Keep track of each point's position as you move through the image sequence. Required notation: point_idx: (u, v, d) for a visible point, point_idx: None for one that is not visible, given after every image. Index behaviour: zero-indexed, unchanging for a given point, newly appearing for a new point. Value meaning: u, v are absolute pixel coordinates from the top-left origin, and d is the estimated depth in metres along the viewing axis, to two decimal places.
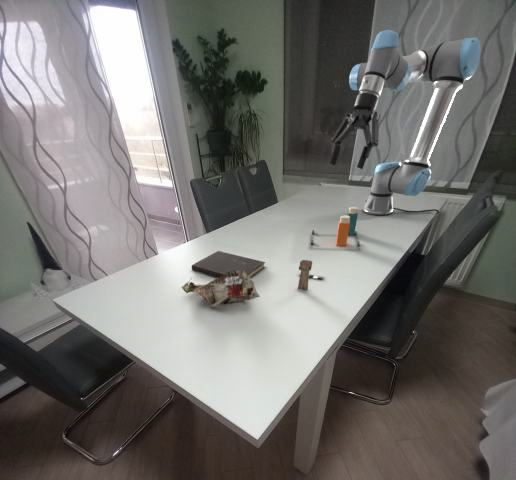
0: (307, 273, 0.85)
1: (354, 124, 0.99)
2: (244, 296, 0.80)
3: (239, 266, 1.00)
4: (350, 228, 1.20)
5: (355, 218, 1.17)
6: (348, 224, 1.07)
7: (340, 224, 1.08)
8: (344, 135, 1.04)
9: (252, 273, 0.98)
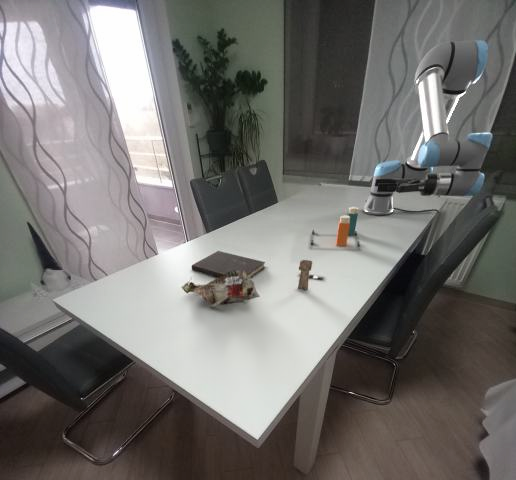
0: (307, 273, 0.85)
1: None
2: (244, 296, 0.80)
3: (239, 266, 1.00)
4: (350, 228, 1.20)
5: (355, 218, 1.17)
6: (348, 224, 1.07)
7: (340, 224, 1.08)
8: None
9: (252, 273, 0.98)
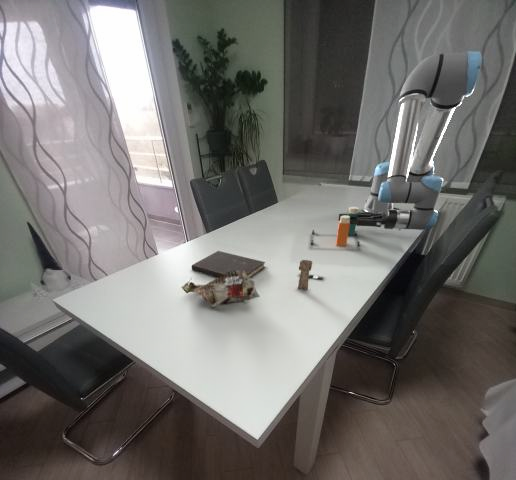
0: (307, 273, 0.85)
1: None
2: (244, 296, 0.80)
3: (239, 266, 1.00)
4: (350, 228, 1.20)
5: (355, 218, 1.17)
6: (348, 224, 1.07)
7: (340, 224, 1.08)
8: None
9: (252, 273, 0.98)
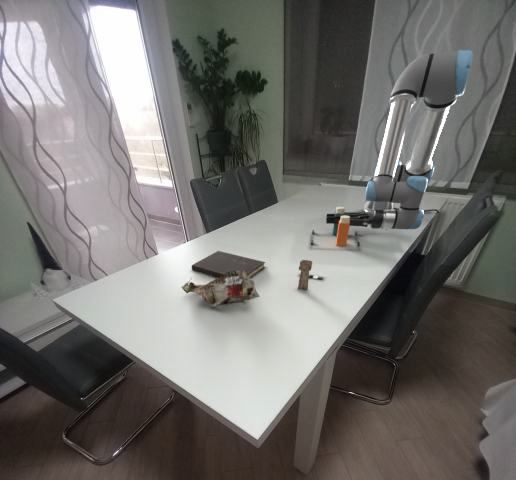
0: (307, 273, 0.85)
1: None
2: (244, 296, 0.80)
3: (239, 266, 1.00)
4: (337, 228, 1.21)
5: None
6: (348, 224, 1.07)
7: (340, 224, 1.08)
8: None
9: (252, 273, 0.98)
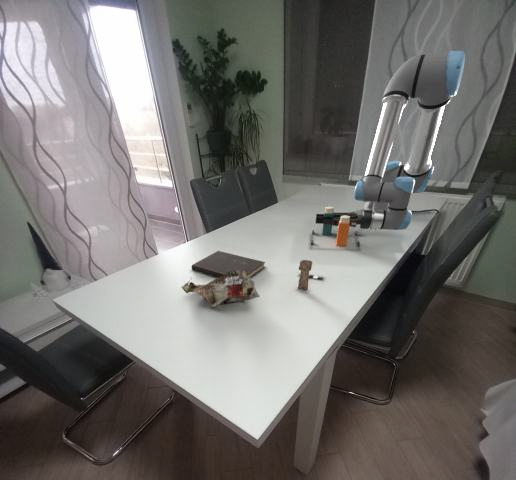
0: (307, 273, 0.85)
1: None
2: (244, 296, 0.80)
3: (239, 266, 1.00)
4: (327, 228, 1.22)
5: None
6: (348, 224, 1.07)
7: (340, 224, 1.08)
8: None
9: (252, 273, 0.98)
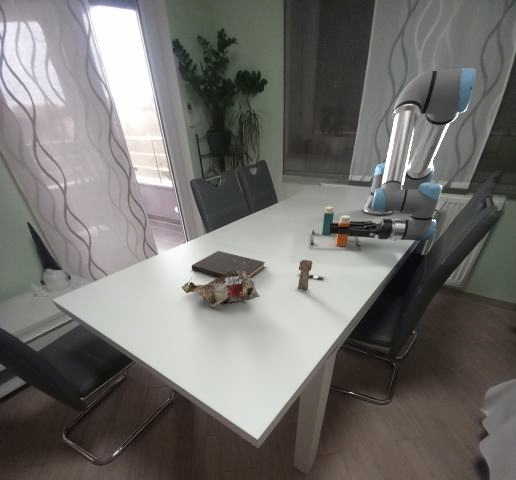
0: (307, 273, 0.85)
1: None
2: (244, 296, 0.80)
3: (239, 266, 1.00)
4: (327, 228, 1.22)
5: (331, 218, 1.19)
6: (348, 224, 1.07)
7: (340, 224, 1.08)
8: None
9: (252, 273, 0.98)
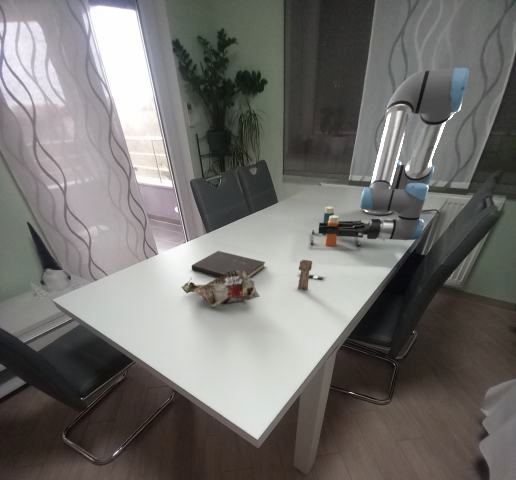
0: (307, 273, 0.85)
1: None
2: (244, 296, 0.80)
3: (239, 266, 1.00)
4: None
5: None
6: (337, 224, 1.08)
7: (329, 224, 1.09)
8: None
9: (252, 273, 0.98)
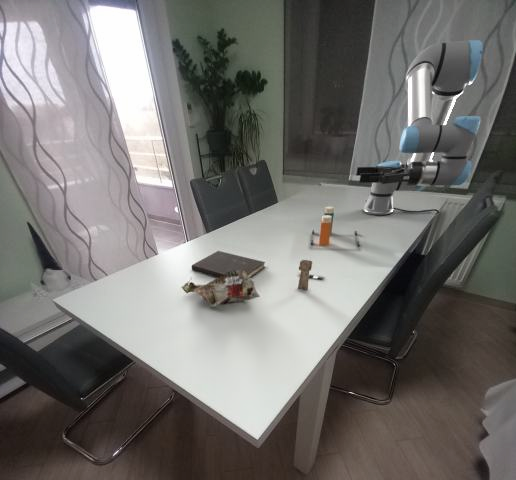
0: (307, 273, 0.85)
1: None
2: (244, 296, 0.80)
3: (239, 266, 1.00)
4: None
5: (331, 218, 1.19)
6: (330, 224, 1.09)
7: (322, 224, 1.09)
8: None
9: (252, 273, 0.98)
